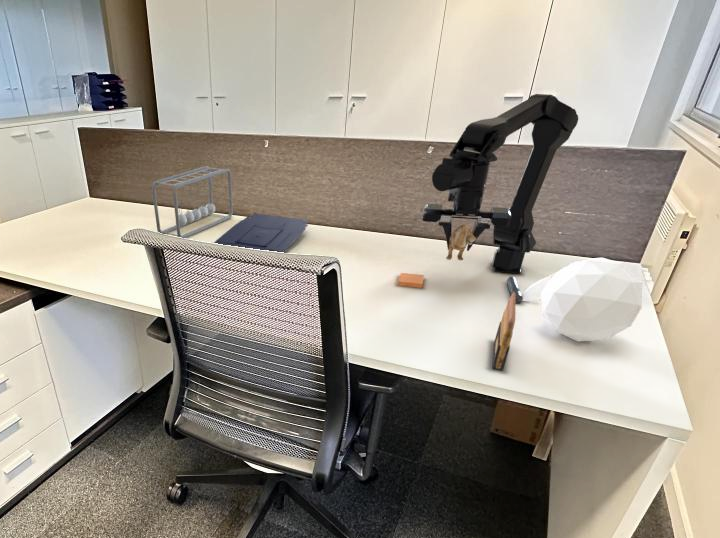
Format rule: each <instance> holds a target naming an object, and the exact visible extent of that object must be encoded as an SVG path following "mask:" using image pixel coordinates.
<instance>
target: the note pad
mask: <svg viewBox="0 0 720 538" xmlns="http://www.w3.org/2000/svg"><path fill="white" fill-rule="evenodd" d="M399 273H400V274H399V277H398V282H397V286H398V287H399V286H400V287H408V288H417V289H423V286H424V279H425V278H424V277H425V275H424V274H418V273H408V272H399Z"/></svg>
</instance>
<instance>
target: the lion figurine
mask: <svg viewBox="0 0 720 538" xmlns="http://www.w3.org/2000/svg"><path fill="white" fill-rule="evenodd" d="M475 240H476V241H477V239H476V237H475V236H474V235H473V233H472V227H471V226H469V225H467V224H465V223H463V224H462V223H461V224H459V225H457V226H456V228H455V229H454V231H452V232H451V236H450V245H449V249H448V248H447V250H448V254H447V256H446V257H445V259H446V260H448V261H450V260H452V258H453V251H454V250H456V251H458V254H457V256H456V259H457V260H458V261H463V260H464V257H463V254H464V252H465V249H467V246H468V244H470V245H471V244H472V243H473V241H475ZM476 241H475V242H476Z"/></svg>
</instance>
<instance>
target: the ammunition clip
mask: <svg viewBox="0 0 720 538" xmlns="http://www.w3.org/2000/svg"><path fill="white" fill-rule="evenodd" d="M515 322H516V303H515V293H513V294H512V295H511V294H510V297H509V299H508V301H507V304H506V307H505V309H504V311H503V314H502V317H501V319H500V321H499V324H498V327H497V330H496V334H495V337H494V341H493V349H492V350H493V351H492V362H491V363H492V365H491V369H492V370H497V371H504V368H505V364H506V361H507V358H508V354H509V351H510V349H511V348H510V347H511V345H510V344H511V342H512V341H511V340H512V338H513V331H514V326H515V324H516V323H515Z"/></svg>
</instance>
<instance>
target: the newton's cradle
mask: <svg viewBox="0 0 720 538" xmlns="http://www.w3.org/2000/svg"><path fill="white" fill-rule="evenodd" d="M212 170H215V171H212ZM206 171H207V173H206ZM203 172H205V173H203ZM199 173H201V175H200V176H197V175H198V174H199ZM224 173H227V182H228V183H227V184H228V185H227V186H228V203H229V213H228V215H222V214H216V213H215V212H216V206H215V204H214V199H213V198H214V197H213V180H212V178H213V177H215V176H219V175H221V174H224ZM189 176H192V177H193V178H190V179H189ZM185 177H187V179H186V178H185ZM182 179H184V181H182ZM176 180H179V181H178V182H177V183H174V182H175V181H176ZM205 180H207V181H208V191H207V190H206V189H207V186H206V181H205ZM200 181H203V183H204V190H203V193H206V195H207V197H206V198H209V199H207V202H208V203H207V204H206V205H205V206H204V203H205V199H203V202H202V199H201V195H200V194H199V193H200V190H199V184H198V182H200ZM169 182H172V184H171V183H169ZM194 183H195V184H196V189H197V190H196V194H198V196H199V200H200V202H202V203H200V205H201V206H199V207H198V208H197V206H198V201H196V203H194V201H192V205H193V208H194V209H192V210H191V211H190V207H191V200H194V198H193V193H192V192H190V196H191V199H189V203H188V204H189V205H188V206H189V207H187V205H185V208H186V212H185V213H184V214H183V213H181V210H180V207H179V206H180V205H179V201H178V196H177V191H178V189H179V188H181V190H182V195H181V199H182V200H181V203H183V201H184V202H185V204H187V201H186V197H185V192H184V187H185V186H189V191H192V188H191V187H192V184H194ZM158 185H164V186H171V187H173V188H172V197H173V199H172V200H173V207H174V217H175V224H176V225H173V226H171V227H168V228H165V229H161V224H160V223H161V222H160V216H159V215H160V214H159V207H158V199H157V191H156V187H157V186H158ZM151 191H152V193H151V195H152V201H153V208H154V215H155V223H156V230H157V233H159V232H160V233H164V234H166V235H171V236H175V237H178V238H179V237H182V238H183V239H186V238H188V237H191V236H193V235H195V234H197V233H200V232H202V231H204V230H206V229H209V228H212V227H213V226H216V225H218V224H220V223H222V222H225V221H228V220H230V219H231V218H232V216H233V212H234V210H233V209H234V207H233V188H232V172H231V170H230V169H229V168H217V167H210V166H208V165H204V166H201V167H197V168H195V169H191V170H188V171H184V172H181V173H178V174H174V175H172V176H171V175H170V176H167V177H164V178H162V179H158V180H155V181H153V183H152V185H151ZM208 195H209V196H208ZM183 199H184V200H183ZM195 204H196V206H195ZM209 216H218V217H221V218H219V219H218V220H215V221H212V222H210V223H208V224H206V225H203V226H201V227H198V228H196V229H193V230H191V231H189V232H186V233H184V234H181V233H182V232H181V227H184V226H186V225H189V224H191V223H194V222H196V221H199V220H201V219H203V218H207V217H209ZM174 230H176V234H175V233H171V232H172V231H174ZM160 233H159V234H160Z"/></svg>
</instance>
